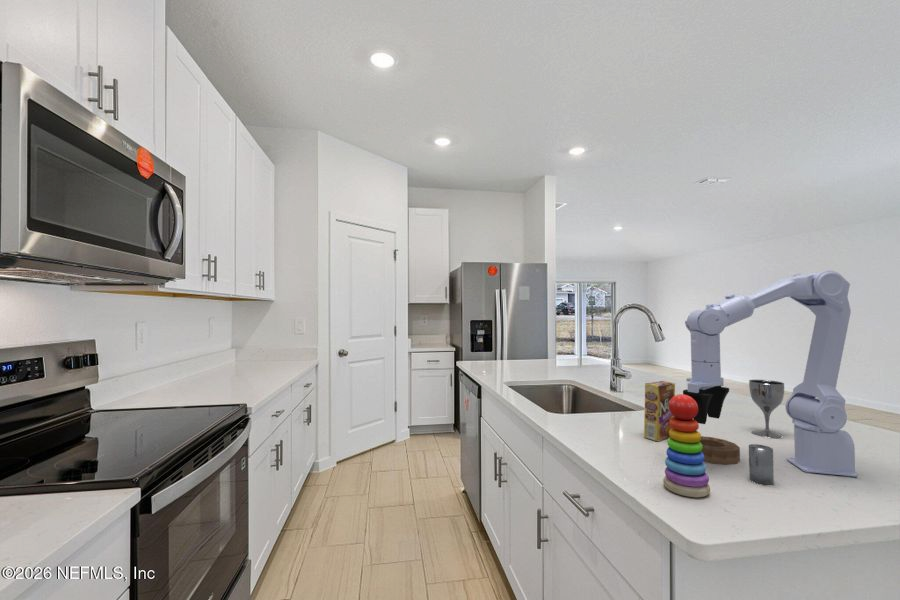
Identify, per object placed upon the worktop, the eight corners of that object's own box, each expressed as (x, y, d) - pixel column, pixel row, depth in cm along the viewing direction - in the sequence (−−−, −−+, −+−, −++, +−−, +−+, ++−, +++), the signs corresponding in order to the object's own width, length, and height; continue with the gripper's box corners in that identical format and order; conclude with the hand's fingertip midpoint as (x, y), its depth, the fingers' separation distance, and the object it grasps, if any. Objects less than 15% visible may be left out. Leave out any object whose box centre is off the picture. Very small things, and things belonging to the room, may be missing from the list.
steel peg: (768, 478, 84) (767, 445, 85) (777, 486, 80) (776, 451, 81) (746, 476, 85) (745, 443, 86) (754, 484, 82) (753, 449, 82)
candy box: (659, 442, 108) (658, 385, 108) (643, 438, 111) (643, 383, 112) (676, 436, 113) (675, 382, 113) (661, 432, 116) (660, 380, 117)
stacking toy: (667, 478, 85) (666, 389, 85) (712, 488, 80) (711, 393, 80) (659, 491, 78) (657, 395, 79) (707, 503, 73) (705, 400, 74)
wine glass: (743, 431, 117) (742, 380, 118) (762, 429, 120) (761, 378, 120) (772, 440, 110) (771, 385, 110) (792, 437, 112) (791, 383, 112)
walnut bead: (728, 450, 101) (728, 438, 102) (747, 466, 91) (746, 453, 91) (680, 446, 105) (680, 434, 105) (692, 461, 94) (692, 448, 94)
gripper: (700, 357, 100) (701, 411, 100) (672, 361, 92) (674, 421, 91) (732, 360, 95) (734, 417, 94) (707, 365, 86) (708, 428, 86)
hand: (707, 420), depth 92 cm, fingers open, 7 cm apart
